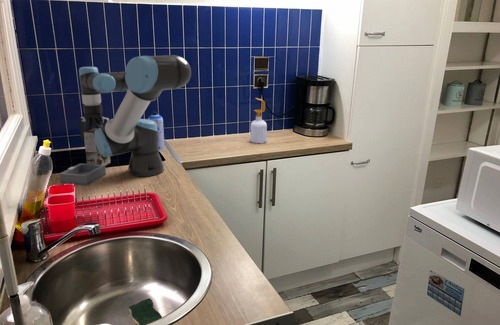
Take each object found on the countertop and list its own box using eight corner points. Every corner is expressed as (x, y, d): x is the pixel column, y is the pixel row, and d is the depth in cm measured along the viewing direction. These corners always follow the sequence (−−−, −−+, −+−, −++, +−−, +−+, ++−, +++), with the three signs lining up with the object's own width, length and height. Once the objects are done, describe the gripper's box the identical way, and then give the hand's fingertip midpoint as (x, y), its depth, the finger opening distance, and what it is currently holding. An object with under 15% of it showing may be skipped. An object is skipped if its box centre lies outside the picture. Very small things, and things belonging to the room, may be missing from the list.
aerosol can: (147, 149, 215) (144, 111, 209) (161, 146, 219) (158, 110, 213) (153, 152, 209) (150, 114, 203) (167, 150, 213) (165, 112, 207)
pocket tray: (106, 174, 177) (105, 164, 176) (87, 185, 164) (85, 175, 162) (81, 172, 179) (80, 162, 178) (60, 182, 166) (59, 172, 165)
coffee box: (100, 168, 178) (96, 132, 173) (87, 167, 179) (82, 132, 175) (111, 162, 187) (107, 128, 182) (98, 161, 188) (94, 127, 183)
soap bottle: (248, 140, 235) (248, 97, 227) (263, 139, 238) (264, 96, 230) (253, 144, 227) (253, 99, 219) (268, 142, 229) (269, 99, 222)
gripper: (117, 103, 176) (122, 154, 183) (77, 101, 180) (83, 152, 187) (108, 106, 169) (113, 159, 176) (66, 104, 173) (73, 156, 180)
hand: (98, 155), depth 182 cm, fingers closed on coffee box, 6 cm apart
